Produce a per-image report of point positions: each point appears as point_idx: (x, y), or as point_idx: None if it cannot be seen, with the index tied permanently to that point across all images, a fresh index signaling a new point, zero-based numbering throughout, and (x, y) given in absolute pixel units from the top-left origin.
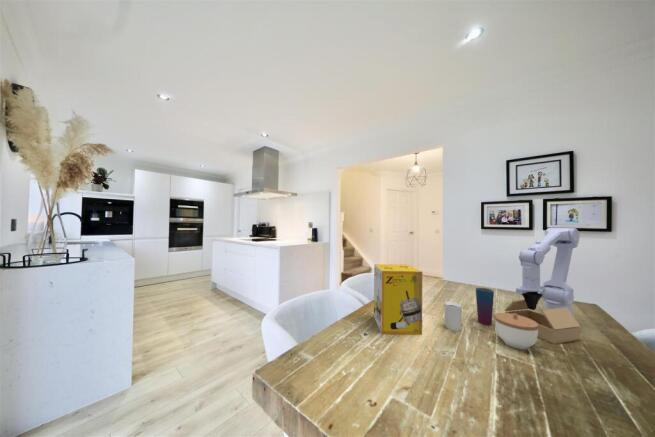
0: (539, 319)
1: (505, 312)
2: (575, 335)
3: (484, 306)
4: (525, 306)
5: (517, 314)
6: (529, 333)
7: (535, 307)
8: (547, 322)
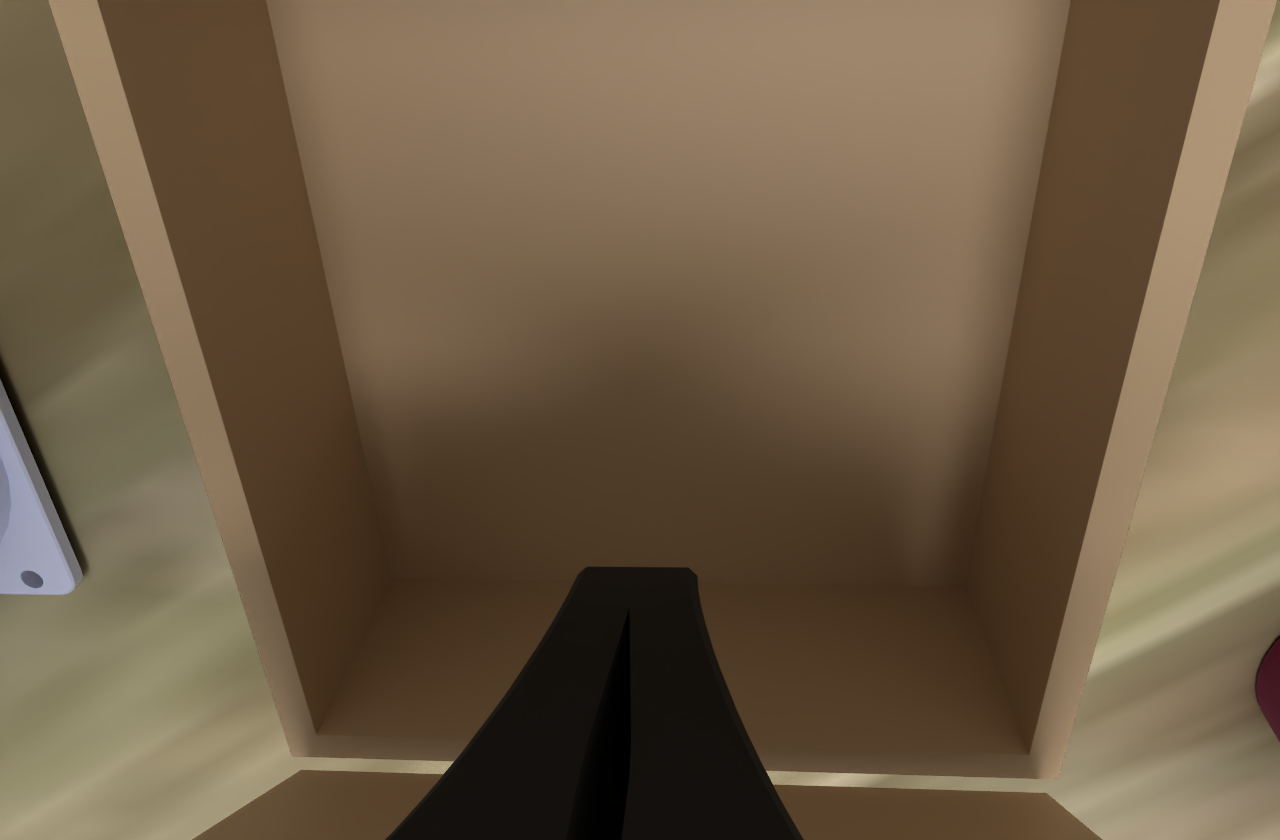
0: (318, 470)
1: (1060, 762)
2: None
3: None
4: None
5: None
6: None
7: (588, 613)
8: (281, 320)
